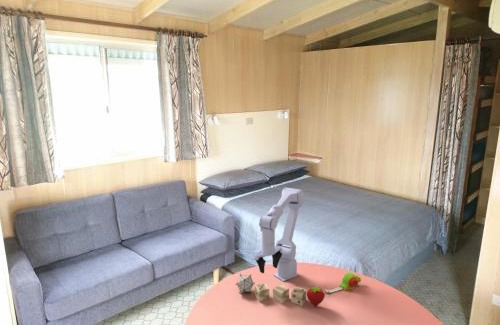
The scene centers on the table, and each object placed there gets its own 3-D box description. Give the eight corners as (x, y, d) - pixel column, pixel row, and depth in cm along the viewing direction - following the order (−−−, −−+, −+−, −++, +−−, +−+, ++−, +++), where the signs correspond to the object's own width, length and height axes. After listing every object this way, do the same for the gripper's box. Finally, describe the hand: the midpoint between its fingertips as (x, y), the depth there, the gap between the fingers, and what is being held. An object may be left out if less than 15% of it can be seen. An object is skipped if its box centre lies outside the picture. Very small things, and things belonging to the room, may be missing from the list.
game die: (246, 301, 156) (244, 292, 149) (233, 289, 160) (230, 280, 153) (259, 286, 160) (257, 277, 153) (245, 275, 164) (243, 266, 157)
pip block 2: (295, 296, 152) (295, 286, 152) (306, 299, 150) (306, 289, 149) (291, 302, 148) (291, 292, 147) (301, 306, 146) (302, 295, 145)
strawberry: (324, 311, 142) (325, 289, 140) (306, 309, 143) (306, 287, 141) (324, 303, 147) (324, 281, 146) (306, 301, 149) (306, 280, 147)
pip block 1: (265, 293, 156) (264, 282, 155) (269, 299, 151) (269, 288, 150) (254, 295, 154) (254, 285, 153) (258, 301, 149) (258, 290, 148)
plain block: (280, 294, 155) (280, 284, 154) (289, 298, 151) (289, 288, 150) (273, 298, 151) (273, 288, 150) (281, 303, 148) (281, 293, 147)
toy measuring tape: (365, 287, 159) (365, 274, 158) (329, 297, 152) (330, 283, 151) (355, 280, 165) (356, 268, 164) (321, 289, 158) (322, 276, 157)
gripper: (275, 234, 160) (275, 261, 163) (250, 243, 152) (250, 271, 155) (285, 239, 155) (285, 267, 157) (259, 248, 146) (260, 277, 149)
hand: (268, 269), depth 156 cm, fingers open, 7 cm apart
